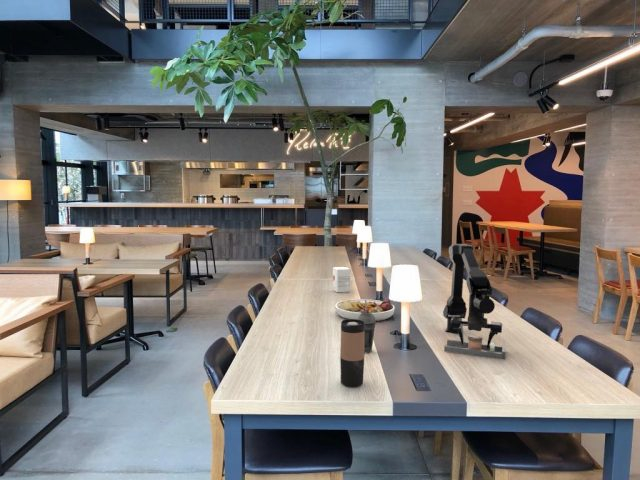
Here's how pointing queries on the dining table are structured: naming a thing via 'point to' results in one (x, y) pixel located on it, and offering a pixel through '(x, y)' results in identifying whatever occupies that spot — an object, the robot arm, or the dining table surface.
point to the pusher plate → (492, 347)
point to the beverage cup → (368, 329)
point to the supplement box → (341, 279)
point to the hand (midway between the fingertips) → (475, 346)
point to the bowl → (357, 306)
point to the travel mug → (352, 352)
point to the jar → (475, 342)
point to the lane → (474, 351)
